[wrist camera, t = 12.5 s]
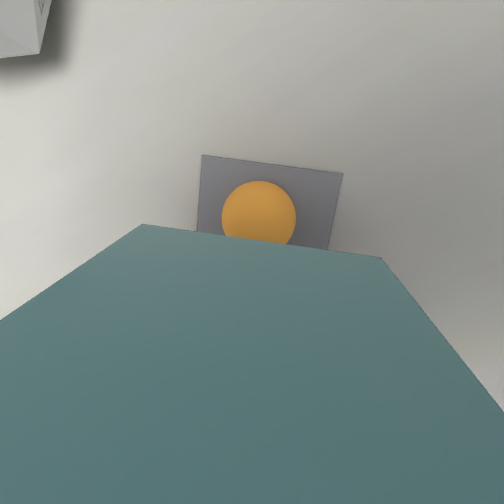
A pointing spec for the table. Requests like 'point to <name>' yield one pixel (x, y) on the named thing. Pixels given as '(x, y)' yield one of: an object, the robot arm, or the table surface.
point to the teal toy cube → (238, 383)
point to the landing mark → (287, 178)
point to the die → (22, 26)
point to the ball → (259, 213)
